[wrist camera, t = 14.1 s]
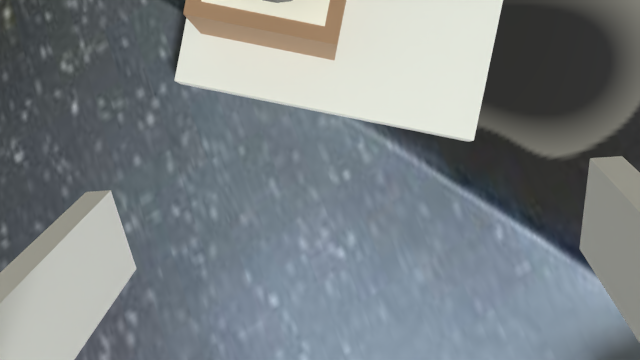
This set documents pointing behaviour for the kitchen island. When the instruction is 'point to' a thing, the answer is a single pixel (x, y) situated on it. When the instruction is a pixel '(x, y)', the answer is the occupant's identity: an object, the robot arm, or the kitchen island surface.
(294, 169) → the kitchen island surface
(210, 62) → the build board
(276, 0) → the salt shaker
